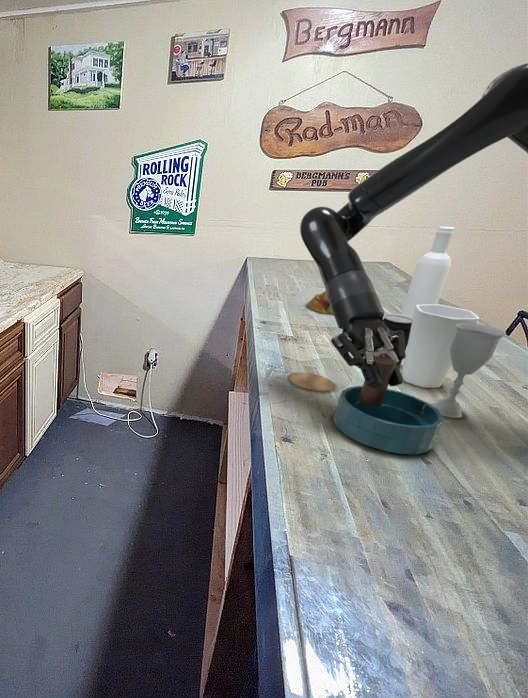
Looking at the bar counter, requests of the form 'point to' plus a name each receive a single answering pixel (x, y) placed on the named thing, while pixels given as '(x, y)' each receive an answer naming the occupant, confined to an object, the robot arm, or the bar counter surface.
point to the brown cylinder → (377, 394)
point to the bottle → (430, 274)
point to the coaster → (312, 382)
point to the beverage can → (398, 328)
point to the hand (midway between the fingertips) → (386, 385)
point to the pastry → (320, 304)
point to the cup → (432, 343)
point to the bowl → (389, 421)
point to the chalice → (468, 359)
